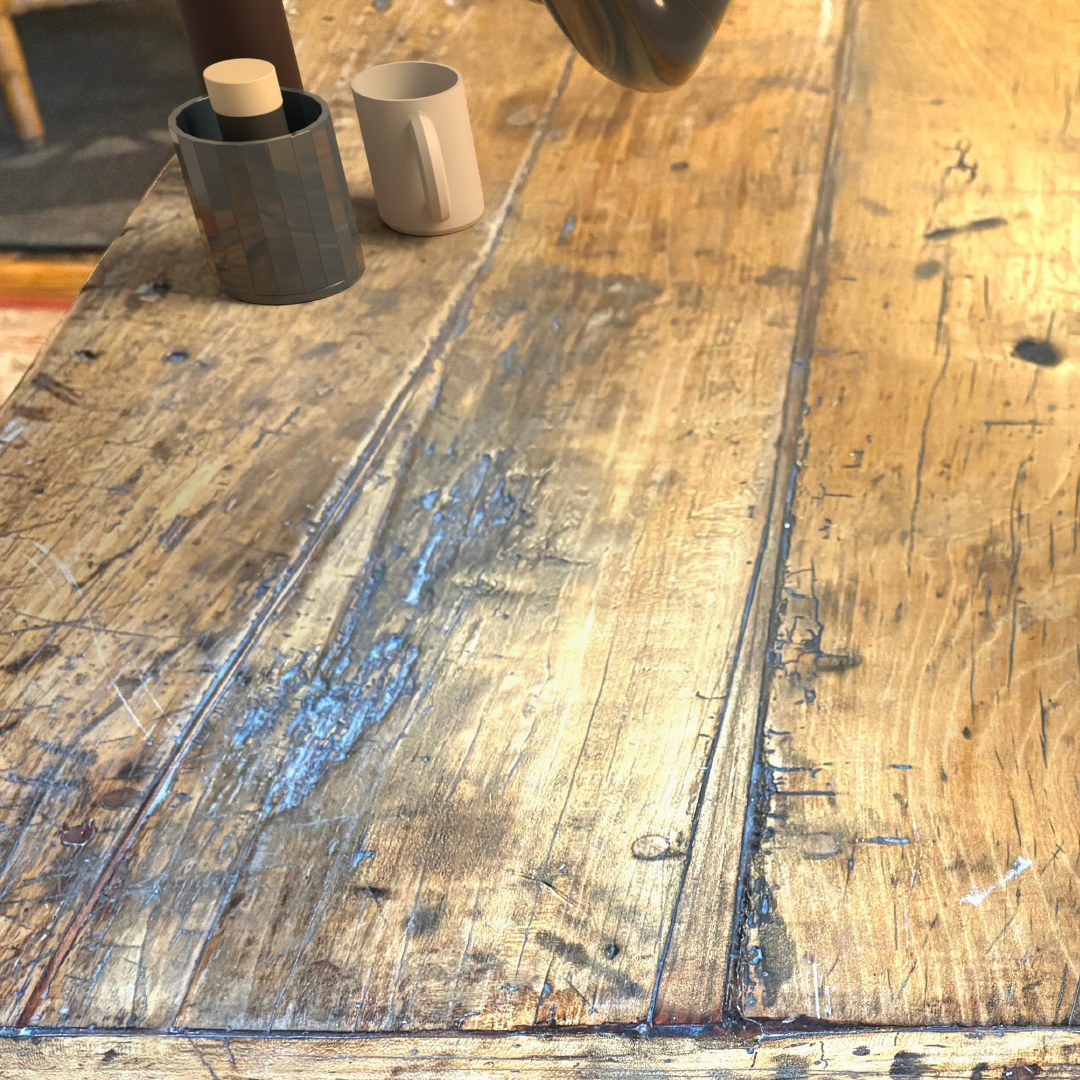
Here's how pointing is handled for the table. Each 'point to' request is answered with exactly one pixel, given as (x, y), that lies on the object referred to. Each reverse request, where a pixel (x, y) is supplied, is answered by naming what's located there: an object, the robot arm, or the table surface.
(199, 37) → the bottle
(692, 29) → the robot arm
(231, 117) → the glue stick
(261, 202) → the pencil cup
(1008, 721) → the table surface
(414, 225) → the cup
